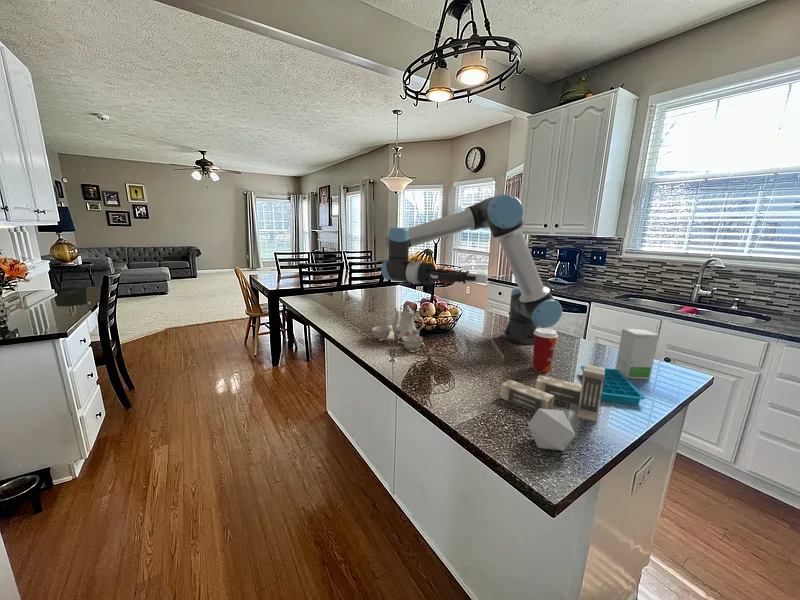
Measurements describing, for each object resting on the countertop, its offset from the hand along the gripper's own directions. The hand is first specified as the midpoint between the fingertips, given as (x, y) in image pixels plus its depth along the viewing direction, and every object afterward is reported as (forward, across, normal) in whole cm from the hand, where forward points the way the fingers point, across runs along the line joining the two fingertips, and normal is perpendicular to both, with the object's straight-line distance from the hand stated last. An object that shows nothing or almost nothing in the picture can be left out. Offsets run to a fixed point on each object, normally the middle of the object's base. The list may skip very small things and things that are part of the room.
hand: (486, 279), depth 104 cm
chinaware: (-37, -10, -32) cm, 50 cm away
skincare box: (+44, -27, -32) cm, 61 cm away
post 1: (+11, +11, -30) cm, 34 cm away
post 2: (+19, +3, -30) cm, 36 cm away
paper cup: (+17, -15, -32) cm, 40 cm away
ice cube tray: (+37, -11, -33) cm, 51 cm away
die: (+25, +29, -32) cm, 50 cm away
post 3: (+32, +10, -32) cm, 47 cm away
